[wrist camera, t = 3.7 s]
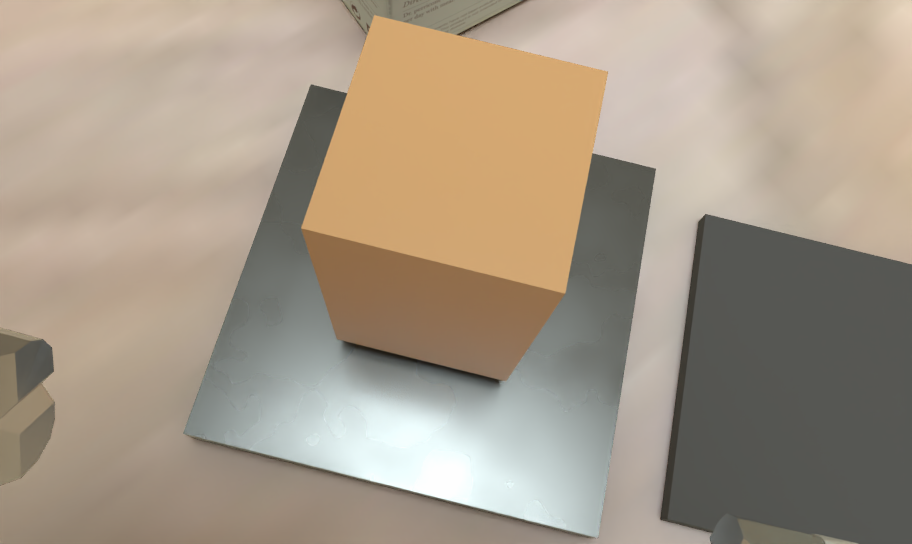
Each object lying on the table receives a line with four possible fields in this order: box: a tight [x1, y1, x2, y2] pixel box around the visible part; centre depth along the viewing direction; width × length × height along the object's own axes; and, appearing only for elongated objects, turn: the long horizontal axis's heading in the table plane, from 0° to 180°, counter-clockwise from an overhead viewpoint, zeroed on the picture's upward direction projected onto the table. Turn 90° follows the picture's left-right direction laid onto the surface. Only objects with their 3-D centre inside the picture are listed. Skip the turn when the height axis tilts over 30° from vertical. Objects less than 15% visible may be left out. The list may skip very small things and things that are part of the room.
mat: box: [661, 214, 912, 544], centre depth 23 cm, size 10×10×1 cm
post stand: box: [183, 85, 656, 538], centre depth 19 cm, size 12×12×9 cm
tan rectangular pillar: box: [301, 15, 608, 381], centre depth 18 cm, size 5×5×8 cm
